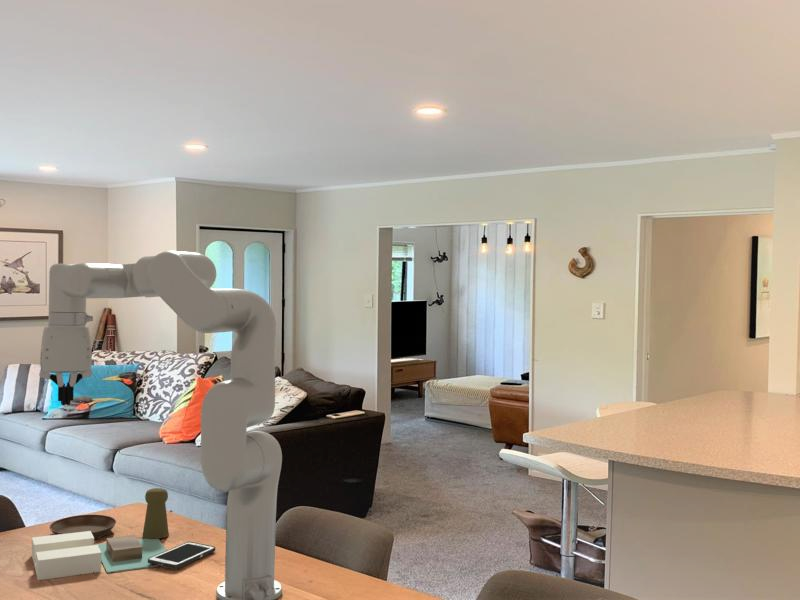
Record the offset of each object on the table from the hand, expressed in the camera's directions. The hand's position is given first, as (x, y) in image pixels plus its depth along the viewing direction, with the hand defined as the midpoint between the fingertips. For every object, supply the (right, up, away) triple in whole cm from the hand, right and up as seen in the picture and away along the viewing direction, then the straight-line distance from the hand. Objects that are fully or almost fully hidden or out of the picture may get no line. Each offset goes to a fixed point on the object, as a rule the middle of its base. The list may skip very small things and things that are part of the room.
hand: (65, 404), depth 176 cm
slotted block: (+2, -33, -5) cm, 34 cm away
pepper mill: (+15, -33, +15) cm, 40 cm away
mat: (+14, -34, +2) cm, 36 cm away
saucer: (-2, -33, +16) cm, 37 cm away
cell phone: (+25, -34, 0) cm, 42 cm away
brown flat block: (+12, -31, +2) cm, 33 cm away
